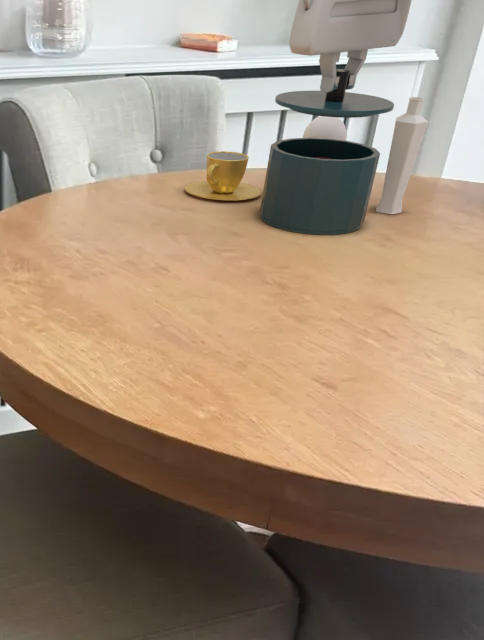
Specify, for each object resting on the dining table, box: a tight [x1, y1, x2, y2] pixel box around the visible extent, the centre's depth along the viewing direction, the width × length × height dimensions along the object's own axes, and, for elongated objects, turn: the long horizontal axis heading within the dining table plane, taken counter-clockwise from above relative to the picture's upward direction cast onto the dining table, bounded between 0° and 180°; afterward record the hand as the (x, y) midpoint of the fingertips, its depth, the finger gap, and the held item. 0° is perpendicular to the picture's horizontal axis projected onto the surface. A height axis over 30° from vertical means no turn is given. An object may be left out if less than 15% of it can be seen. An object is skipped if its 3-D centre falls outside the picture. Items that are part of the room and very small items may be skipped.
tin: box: [259, 137, 381, 236], centre depth 125 cm, size 15×15×10 cm
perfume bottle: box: [375, 96, 429, 215], centre depth 128 cm, size 5×4×15 cm
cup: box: [184, 150, 262, 201], centre depth 137 cm, size 12×12×5 cm
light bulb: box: [302, 116, 348, 141], centre depth 137 cm, size 7×7×11 cm
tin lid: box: [274, 68, 395, 119], centre depth 117 cm, size 16×16×5 cm
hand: (336, 90), depth 117 cm, fingers closed on tin lid, 2 cm apart
